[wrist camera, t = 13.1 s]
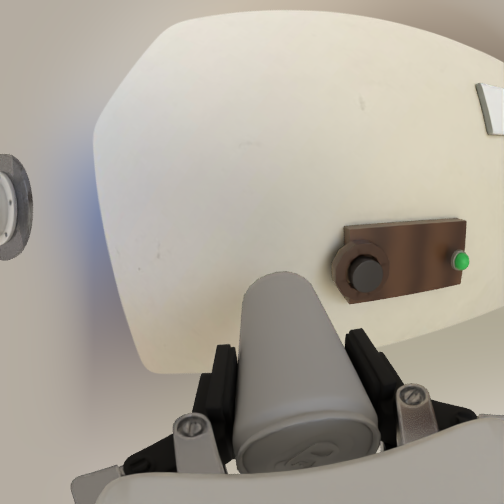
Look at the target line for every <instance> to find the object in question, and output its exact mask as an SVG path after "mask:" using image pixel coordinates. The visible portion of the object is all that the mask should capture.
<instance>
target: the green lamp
mask: <svg viewBox="0 0 504 504" xmlns="http://www.w3.org/2000/svg"><path fill="white" fill-rule="evenodd" d="M468 265H469V257H468V256H467V254H466V253H465V252H464V251H463V250H456V251H455V252H454V253H453V255H452V257H451V266H452V268H453V269H455V270H464V269H466V268H467V267H468Z"/></svg>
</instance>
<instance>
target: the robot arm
mask: <svg viewBox="0 0 504 504" xmlns="http://www.w3.org/2000/svg"><path fill="white" fill-rule="evenodd" d="M16 222H17V199H16V194H15V190H14V187H13V184H12V182H11V180H10V179H9V177H8V176H7V175H6V174H5V173H3V172H0V245H3V244H5V243H7V242H8V241H9V240H10V239H11V237H12V235H13V233H14V230H15V227H16ZM345 350H346V352H347V354H348V356H349V358H350V360H351V362H352V364H353V366H354V368H355V370H356V372H357V374H358V376H359V378H360V380H361V382H362V385H363V387H364V389H365V391H366V393H367V395H368V397H369V399H370V401H371V403H372V406H373V408H374V410H375V412H376V414H377V417H378V430H379V432H380V434H381V442H380V446H381V452H380V453H376V454H373V455H369V456H365V457H361V458H357V459H353V460H349V461H344V462H340V463H335V464H330V465H324V466H318V467H312V468H306V469H298V470H290V471H281V472H270V473H254V474H228V472H227V469H226V466H225V464H227V463H228V462H230V461H231V460H232V459H236V456H235V454H234V449H233V424H234V410H235V395H236V381H237V367H238V363H237V357H236V351H235V347H230V344H225V345H217V348H216V354H215V359H214V364H213V369H212V373H202V374H201V377H200V381H199V385H198V389H197V393H196V398H195V402H194V406H193V410H192V413H188V414H185V415H182V416H181V417H179V418H178V419H177V420H176V421H175V423H174V424H173V434H171V435H169V436H168V437H166V438H164V439H162V440H160V441H158V442H156V443H155V444H153V445H151V446H149V447H147V448H145V449H143V450H141V451H139V452H137V453H135V454H133V455H131V456H130V457H128V458H127V460H126V461H125V462H124V465H123V466H120V467H118V466H117V465H114V466H111V467H109V468H105V469H102V470H99V471H95V472H92V473H89V474H85V475H81V476H79V477H77V478H75V479H74V480H73V481H72V483H71V492H72V495H73V498H74V501H75V504H504V415H490V414H489V415H488V414H479V416H476V414H475V413H474V412H473V411H472V410H470V409H467V408H463V407H459V406H454V405H450V404H446V403H442V402H438V401H434V400H431V398H430V395H429V392H428V391H427V389H426V388H425V387H423V386H421V385H419V384H412V383H411V384H405V385H404V384H403V382H402V380H401V379H400V377H399V376H398V375H397V373H396V371H395V370H394V368H393V367H392V365H391V364H390V362H389V361H388V359H387V358H386V356H385V355H384V354H383V352H378V351H377V350H376V348H375V347H374V345H373V344H372V342H371V341H370V339H369V338H368V336H367V335H366V333H365V332H364V330H363V329H362V328H360V329H354V330H350V332H349V334H346V337H345Z"/></svg>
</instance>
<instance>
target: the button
mask: <svg viewBox="0 0 504 504" xmlns="http://www.w3.org/2000/svg"><path fill="white" fill-rule="evenodd" d="M382 278H383V270H382V267H381V265H380V264H379V263H378V262H376V261H375V260H374V259H372V258H371V257H368V256H361V257H358V258H356V259H355V260H354V261H353V262H352V263H351V265H350V266H349V269H348V279H349V281H350V283H351V284H352V285H353V286H354V287H355V288H356V289H357V290H358V291H360V292H363V293H368V292H371V291H373V290H375V289H376V288H377V287H378V286H379V285H380V283H381V281H382Z"/></svg>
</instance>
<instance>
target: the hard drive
mask: <svg viewBox="0 0 504 504" xmlns="http://www.w3.org/2000/svg"><path fill="white" fill-rule="evenodd" d="M476 89H477V93H478V96H479V100H480V104H481V108H482V112H483V116H484V120H485V125H486V129H487V133H488V134H490V135H504V88H500V87H496V86H492V85H488V84H483V83H478V84H476Z"/></svg>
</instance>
